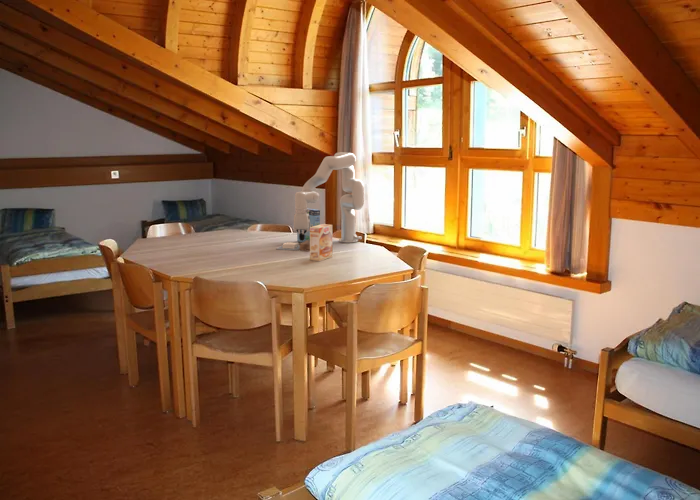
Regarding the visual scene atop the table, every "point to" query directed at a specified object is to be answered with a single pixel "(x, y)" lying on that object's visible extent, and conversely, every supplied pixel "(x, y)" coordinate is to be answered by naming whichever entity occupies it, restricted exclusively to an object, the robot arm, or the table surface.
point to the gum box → (311, 222)
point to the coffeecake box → (320, 242)
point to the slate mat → (288, 248)
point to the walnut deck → (305, 245)
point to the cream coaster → (290, 245)
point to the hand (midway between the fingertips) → (302, 240)
